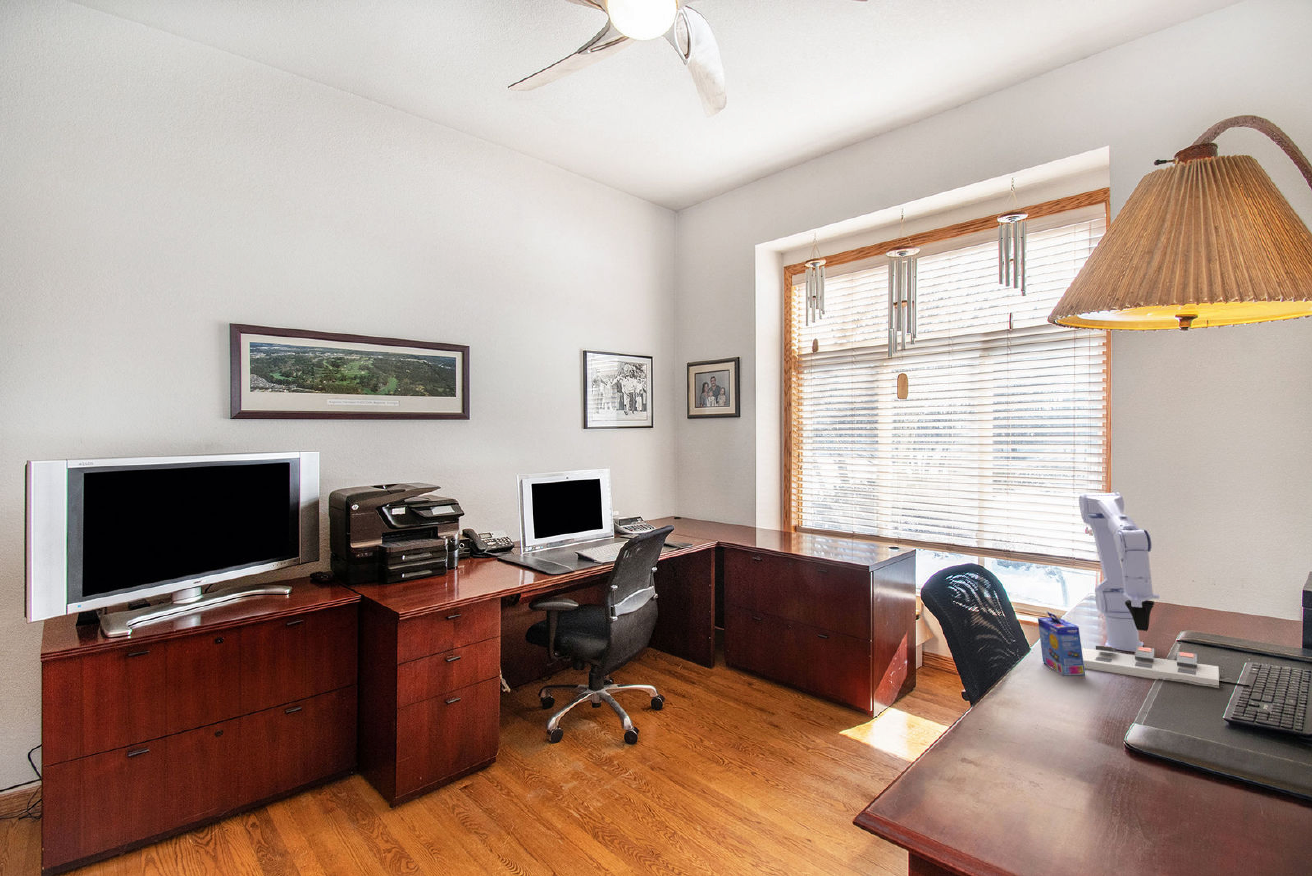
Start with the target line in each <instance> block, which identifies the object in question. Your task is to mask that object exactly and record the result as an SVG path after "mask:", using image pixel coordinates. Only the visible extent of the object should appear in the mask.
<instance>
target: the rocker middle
mask: <svg viewBox="0 0 1312 876" xmlns="http://www.w3.org/2000/svg"><path fill="white" fill-rule="evenodd" d="M1134 655H1135V660H1140V661H1147V662H1154V658H1155V648H1152V647H1145V646H1143V647H1138V646H1136V651H1135V652H1134Z"/></svg>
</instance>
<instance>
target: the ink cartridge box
mask: <svg viewBox="0 0 1312 876" xmlns="http://www.w3.org/2000/svg"><path fill="white" fill-rule="evenodd" d="M1046 613H1047V615H1048V616H1049V617H1037V623H1038V630H1039V638H1040V639H1039V640H1040V647H1041V656H1042V663H1043V662H1044V663H1046V664H1047V665H1048V666H1047V665H1046V664H1045V665H1046V666H1047V667H1049V666H1050V667H1049V668H1051V667H1052V668H1053V669H1052V668H1051V669H1052V670H1054V671H1055V670H1056V673H1058V672H1059V674H1061V675H1062V676H1086V671H1085V670H1086V668H1084V662H1083V655H1082V649H1083V647H1082V640H1081V636H1080V635H1081V634H1080V627H1079V625H1076V624H1073V623H1071V622H1068V621H1065V619H1062V618H1061V617H1057V616H1056V615H1055V614H1054V613H1051V612H1048V611H1046ZM1044 663H1043V664H1044Z"/></svg>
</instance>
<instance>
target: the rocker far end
mask: <svg viewBox="0 0 1312 876" xmlns="http://www.w3.org/2000/svg"><path fill="white" fill-rule="evenodd" d="M1095 650H1100V651H1108V652H1115V653H1117V649H1116V648H1113V647H1107V646H1105V645H1095Z"/></svg>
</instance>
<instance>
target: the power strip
mask: <svg viewBox="0 0 1312 876" xmlns="http://www.w3.org/2000/svg"><path fill="white" fill-rule="evenodd" d="M1082 655H1083V662H1084V669H1089V670H1093V671H1100V672H1107V673H1114V674H1119V675H1126V676H1133V677H1139V678H1147V679H1152V680H1153V679H1154V680H1158V678H1159V677H1163V678H1172V679H1183V680H1189V681H1194V682H1198V683H1203V684H1212V685H1219V678H1221V679H1230V680H1231V679H1232V678H1227V677H1221V676H1220V667H1219V666H1218V665H1211V664H1210V665H1209V664H1204V663H1203V664H1202V663H1197V668H1190V667H1183V666H1177V660H1173V659H1166V658H1159V657H1154V662H1147V661H1140V660H1135V654H1130V653H1128V654H1127V653H1121V652H1111V651H1103V650H1096V649H1092V648H1084V647H1082Z"/></svg>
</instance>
